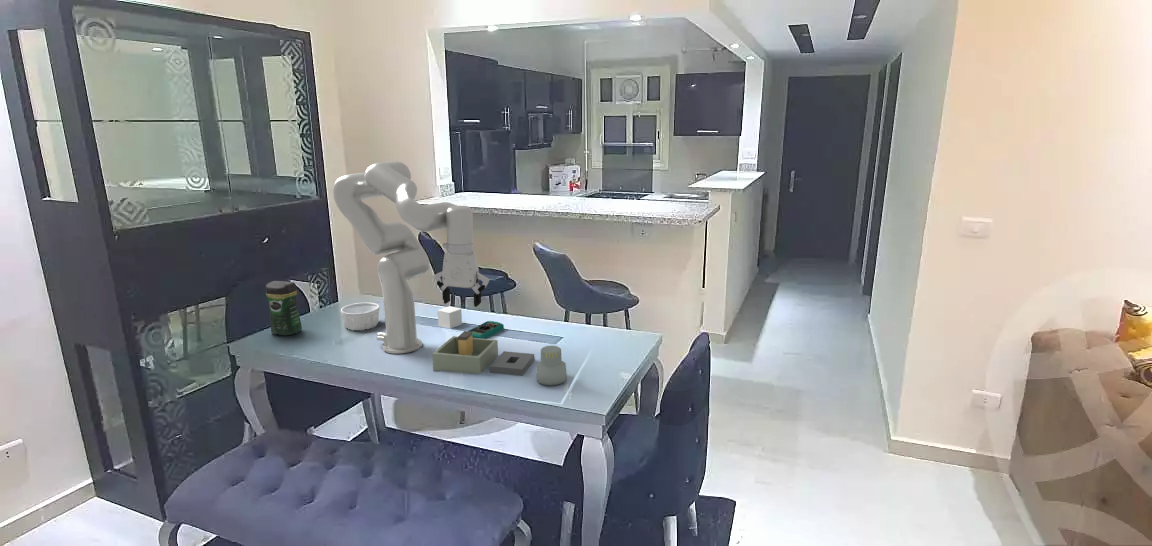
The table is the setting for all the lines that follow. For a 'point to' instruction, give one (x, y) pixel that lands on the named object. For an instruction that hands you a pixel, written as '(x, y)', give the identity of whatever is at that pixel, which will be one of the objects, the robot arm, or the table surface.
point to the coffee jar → (283, 307)
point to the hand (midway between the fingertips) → (462, 303)
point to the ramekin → (360, 316)
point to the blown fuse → (465, 343)
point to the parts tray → (465, 356)
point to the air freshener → (551, 367)
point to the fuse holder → (512, 363)
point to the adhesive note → (449, 317)
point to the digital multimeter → (486, 329)
